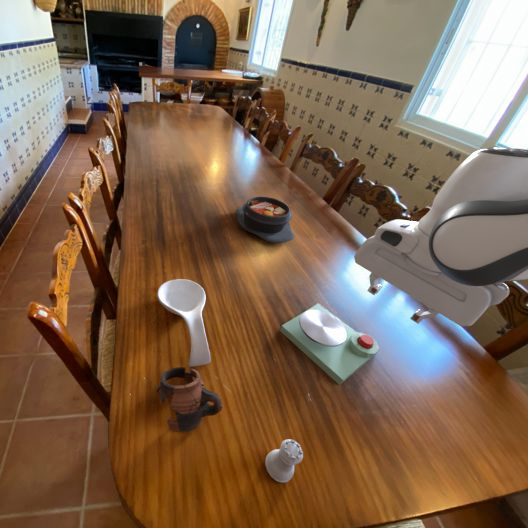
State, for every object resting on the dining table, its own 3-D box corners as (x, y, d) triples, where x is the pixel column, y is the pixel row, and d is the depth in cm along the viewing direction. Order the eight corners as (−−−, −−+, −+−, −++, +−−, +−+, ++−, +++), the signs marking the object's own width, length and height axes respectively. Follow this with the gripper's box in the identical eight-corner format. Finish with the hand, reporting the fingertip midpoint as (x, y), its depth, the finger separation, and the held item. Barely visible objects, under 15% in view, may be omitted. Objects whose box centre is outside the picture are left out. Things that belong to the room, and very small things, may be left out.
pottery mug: (151, 431, 52) (148, 388, 50) (168, 398, 61) (165, 361, 59) (220, 442, 48) (218, 396, 47) (227, 406, 57) (226, 366, 56)
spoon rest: (153, 290, 78) (153, 270, 73) (196, 285, 80) (199, 265, 76) (173, 371, 60) (175, 351, 56) (227, 361, 63) (233, 341, 58)
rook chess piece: (282, 448, 51) (297, 428, 45) (297, 477, 47) (316, 460, 42) (259, 456, 49) (272, 437, 44) (274, 488, 46) (289, 471, 41)
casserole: (223, 213, 112) (227, 192, 107) (264, 207, 118) (270, 187, 113) (259, 251, 95) (266, 229, 89) (306, 242, 100) (315, 221, 95)
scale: (376, 355, 67) (384, 345, 64) (340, 386, 60) (348, 377, 58) (315, 308, 77) (320, 298, 74) (279, 330, 70) (283, 321, 68)
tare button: (372, 345, 65) (376, 341, 64) (366, 350, 64) (370, 346, 63) (361, 337, 66) (364, 332, 65) (355, 341, 65) (358, 337, 64)
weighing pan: (354, 334, 66) (355, 332, 66) (327, 354, 62) (328, 353, 61) (316, 305, 72) (317, 304, 72) (289, 322, 68) (290, 320, 68)
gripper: (524, 279, 43) (460, 336, 52) (386, 215, 56) (353, 270, 65) (511, 295, 41) (446, 353, 49) (369, 223, 53) (337, 280, 62)
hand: (392, 305), depth 57 cm, fingers open, 7 cm apart
